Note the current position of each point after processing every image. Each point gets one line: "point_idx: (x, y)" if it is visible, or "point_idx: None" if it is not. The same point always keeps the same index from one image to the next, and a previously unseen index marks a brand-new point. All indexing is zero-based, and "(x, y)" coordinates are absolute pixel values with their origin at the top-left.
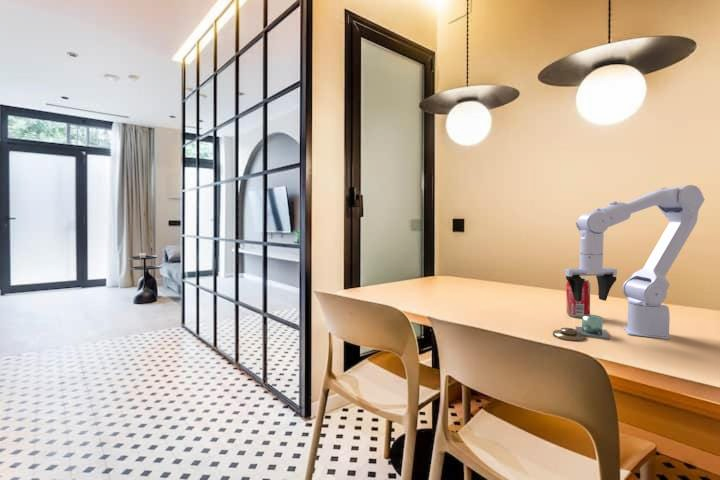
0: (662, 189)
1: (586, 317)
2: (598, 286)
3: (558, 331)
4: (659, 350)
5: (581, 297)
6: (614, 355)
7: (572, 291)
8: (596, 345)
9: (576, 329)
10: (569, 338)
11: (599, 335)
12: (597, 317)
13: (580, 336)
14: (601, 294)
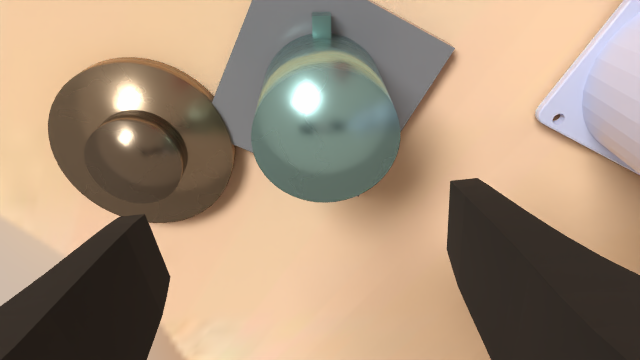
0: None
1: (262, 165)
2: (540, 272)
3: (89, 105)
4: None
5: (157, 321)
6: (253, 346)
7: (37, 287)
8: (240, 261)
9: (241, 38)
10: (127, 215)
11: None
12: (353, 162)
13: (196, 196)
14: (474, 255)
